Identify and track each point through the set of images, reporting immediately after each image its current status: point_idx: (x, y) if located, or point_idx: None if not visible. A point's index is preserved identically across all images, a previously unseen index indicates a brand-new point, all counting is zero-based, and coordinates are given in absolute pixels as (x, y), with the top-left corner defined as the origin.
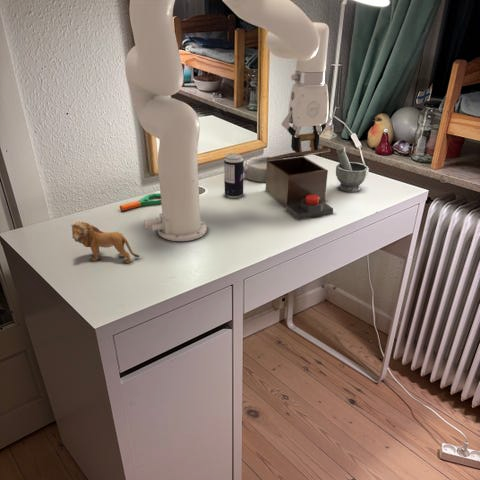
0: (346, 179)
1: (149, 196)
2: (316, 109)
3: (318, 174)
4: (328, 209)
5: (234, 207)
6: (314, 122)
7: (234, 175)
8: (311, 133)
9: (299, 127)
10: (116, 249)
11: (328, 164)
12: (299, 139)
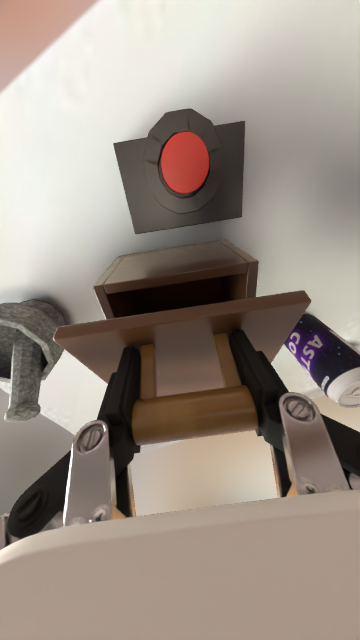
0: (37, 314)
1: None
2: None
3: (132, 277)
4: (131, 141)
5: (332, 269)
6: (161, 584)
7: (343, 341)
8: (151, 439)
9: (316, 484)
10: None
11: (71, 421)
12: (260, 380)
